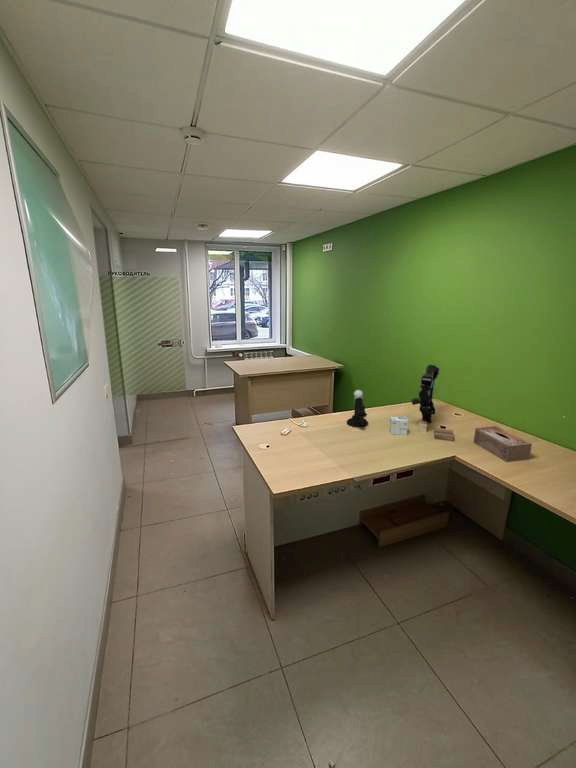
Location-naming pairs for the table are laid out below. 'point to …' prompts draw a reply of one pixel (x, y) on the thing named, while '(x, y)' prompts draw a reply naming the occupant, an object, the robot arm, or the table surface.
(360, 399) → the sculpture
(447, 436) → the pedestal
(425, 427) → the beige cube
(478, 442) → the tissue box cover
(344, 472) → the table surface
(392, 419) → the light bulb box
